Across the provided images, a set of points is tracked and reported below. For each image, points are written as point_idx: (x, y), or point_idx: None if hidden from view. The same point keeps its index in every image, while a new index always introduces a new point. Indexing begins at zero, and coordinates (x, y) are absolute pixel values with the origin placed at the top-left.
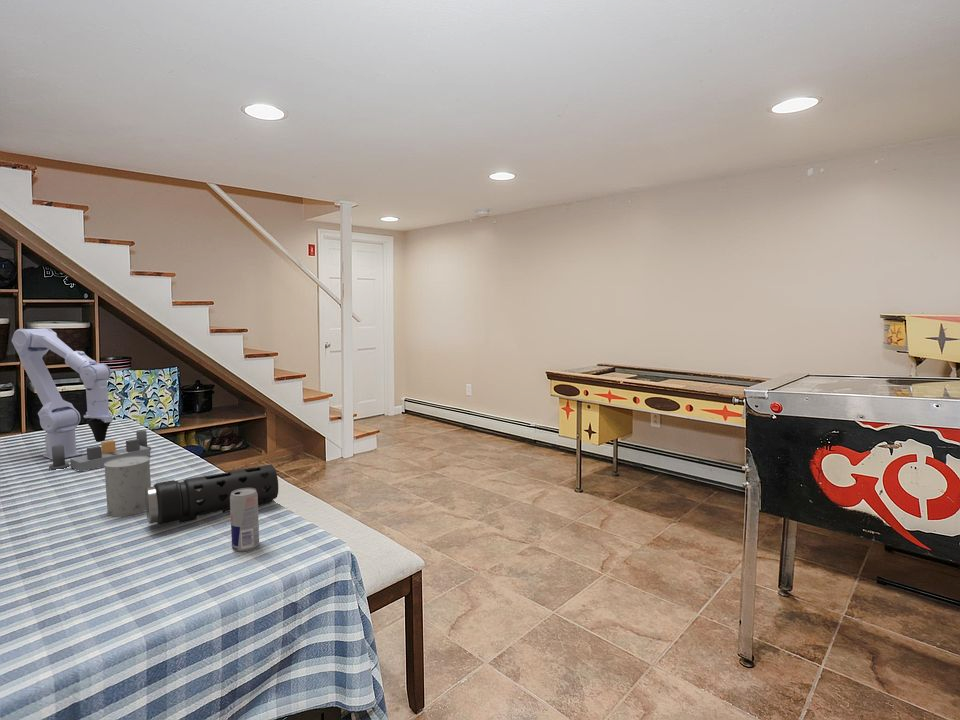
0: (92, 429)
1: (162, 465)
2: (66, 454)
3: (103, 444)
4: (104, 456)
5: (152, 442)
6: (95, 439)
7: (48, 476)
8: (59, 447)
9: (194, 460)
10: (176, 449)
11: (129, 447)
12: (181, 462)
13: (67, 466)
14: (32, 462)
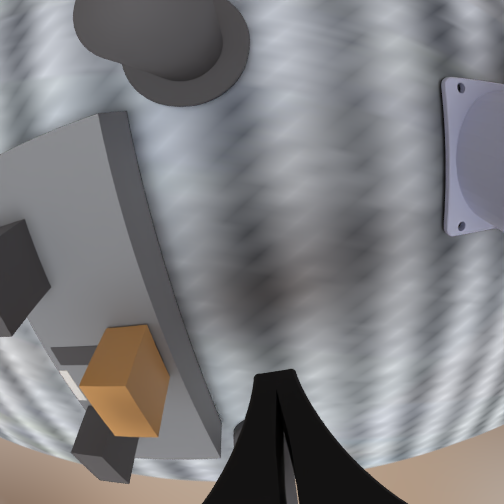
0: (306, 468)
1: (3, 396)
2: (463, 157)
3: (90, 376)
4: (45, 309)
5: (380, 452)
6: (288, 381)
7: (40, 8)
8: (73, 19)
9: (33, 447)
10: (200, 479)
11: (82, 426)
12: (22, 429)
13: (140, 92)
14: (474, 5)
